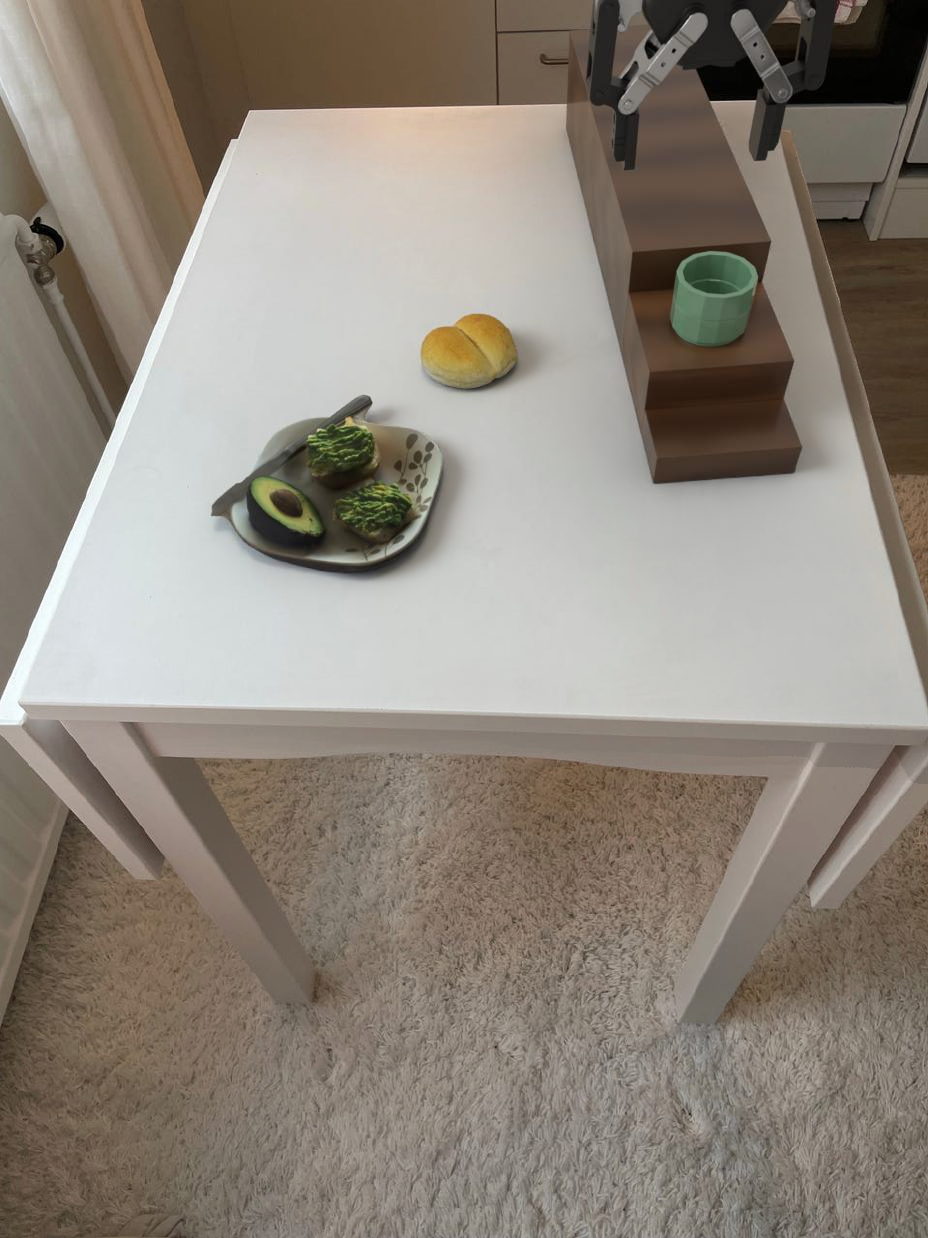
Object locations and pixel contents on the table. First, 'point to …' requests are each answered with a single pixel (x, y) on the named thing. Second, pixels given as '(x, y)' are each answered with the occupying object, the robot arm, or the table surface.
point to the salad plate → (336, 492)
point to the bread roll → (469, 352)
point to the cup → (713, 298)
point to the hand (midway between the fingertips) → (691, 159)
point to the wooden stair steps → (646, 271)
